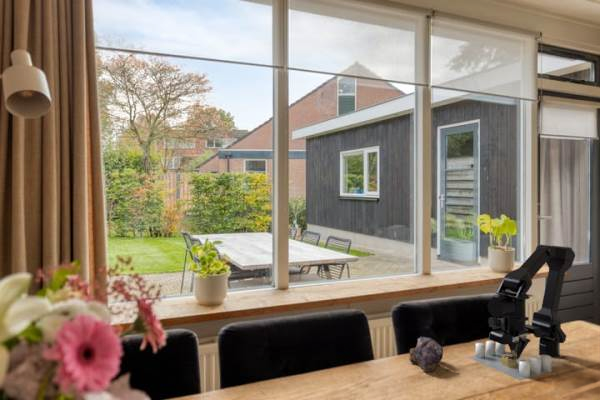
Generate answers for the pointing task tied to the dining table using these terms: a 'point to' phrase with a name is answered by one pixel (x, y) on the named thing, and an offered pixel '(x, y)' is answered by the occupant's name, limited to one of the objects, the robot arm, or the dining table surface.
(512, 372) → the board
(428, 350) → the rock
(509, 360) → the nut
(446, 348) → the dining table surface
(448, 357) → the dining table surface
